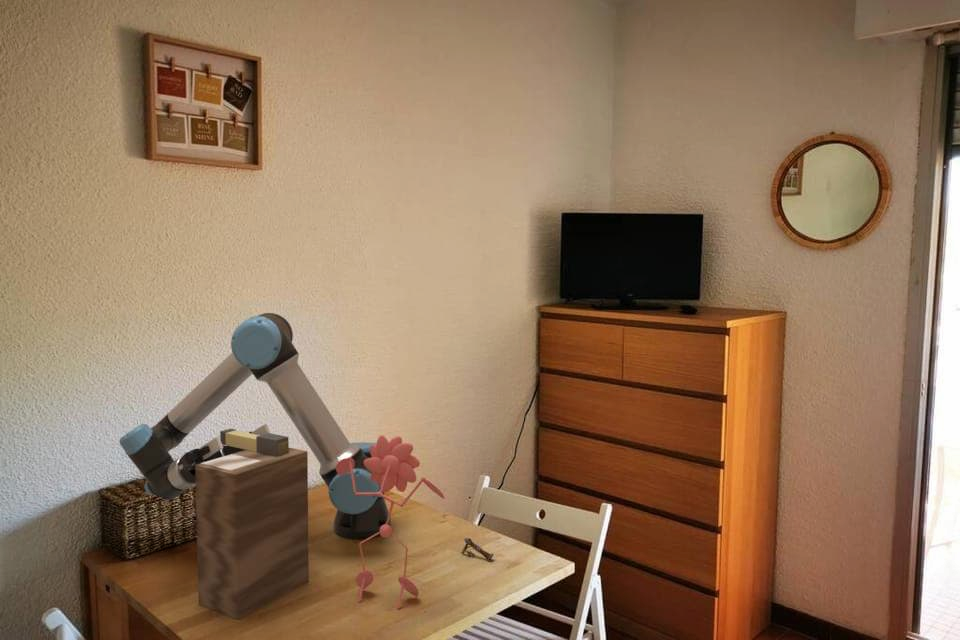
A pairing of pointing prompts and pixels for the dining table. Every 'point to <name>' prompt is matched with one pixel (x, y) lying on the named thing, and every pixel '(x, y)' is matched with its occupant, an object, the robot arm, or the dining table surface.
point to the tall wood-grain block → (251, 529)
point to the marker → (256, 442)
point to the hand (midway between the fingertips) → (244, 435)
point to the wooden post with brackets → (477, 548)
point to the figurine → (391, 470)
